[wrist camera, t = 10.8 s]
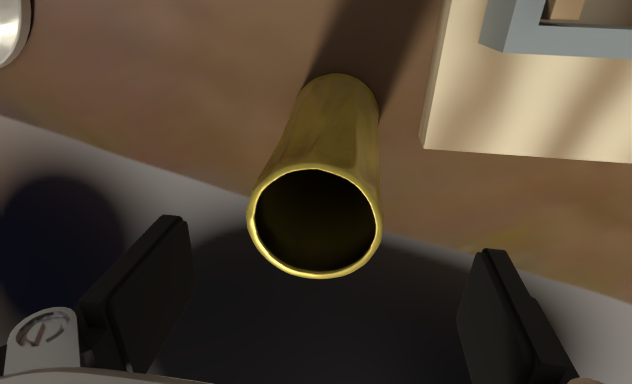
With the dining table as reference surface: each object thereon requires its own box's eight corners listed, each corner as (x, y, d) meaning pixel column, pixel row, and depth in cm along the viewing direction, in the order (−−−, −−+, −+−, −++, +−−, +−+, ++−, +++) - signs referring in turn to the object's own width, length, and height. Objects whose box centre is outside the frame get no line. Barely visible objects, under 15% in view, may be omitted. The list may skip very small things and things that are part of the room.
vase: (344, 53, 24) (327, 114, 11) (395, 125, 26) (429, 245, 13) (276, 108, 26) (200, 209, 14) (328, 170, 28) (303, 309, 16)
